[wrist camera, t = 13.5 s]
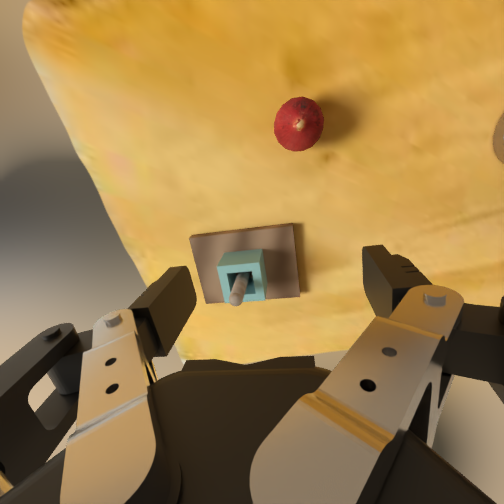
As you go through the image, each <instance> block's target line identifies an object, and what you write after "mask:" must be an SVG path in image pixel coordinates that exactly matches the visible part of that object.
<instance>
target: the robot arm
mask: <svg viewBox="0 0 504 504" xmlns="http://www.w3.org/2000/svg"><path fill="white" fill-rule="evenodd" d="M493 146H494V151H495V154H496V155H497V157H498V159H499V160H500V161H501V162H502V163H503V164H504V114H503V115H502V117H501V118H500V120H499V122H498V124H497V126H496V129H495V133H494V137H493ZM362 263H363V285H364V290H365V293H366V296H367V298H368V300H369V302H370V304H371V306H372V308H373V311H374V313H375V315H376V317H375V318H374V319H373V321H372V322H371V323H370V324H369V326H368V327H367V328H366V329H365V331H364V332H363V333H362V334H361V336H360V337H359V338H358V339H357V341H356V342H355V343H354V344H353V346H352V347H351V348H350V349H349V351H348V352H347V353H346V355H345V356H344V357H343V358H342V359H341V361H340V362H339V363H338V364H337V366H336V367H335V368H334V370H333V371H330V370H327V369H324V368H320V367H315V361H314V356H296V357H278V358H274V359H270V360H265V361H261V362H257V363H253V364H248V365H243V364H237V363H232V362H227V361H222V360H217V359H210V360H186V362H185V364H184V367H183V369H182V371H178V372H176V373H173V374H170V375H168V376H165V377H163V378H161V379H159V380H158V377H157V374H156V370H155V367H154V364H153V362H152V359H153V357H164V356H167V355H168V353H169V351H170V350H171V348H172V346H173V345H174V343H175V341H176V339H177V338H178V336H179V334H180V332H181V331H182V329H183V327H184V325H185V324H186V322H187V320H188V319H189V317H190V315H191V313H192V312H193V310H194V308H195V306H196V301H197V298H196V292H195V289H194V286H193V282H192V279H191V275H190V272H189V269H188V268H187V267H186V266H178V267H170V268H169V269H168V270H167V271H166V272H165V273H164V274H163V275H162V276H161V277H160V278H159V279H158V280H157V281H155V282H154V283H152V284H151V285H150V286H149V287H148V288H147V289H146V291H144V292H143V293H142V294H141V296H139V297H138V298H137V299H136V301H135V302H134V303H133V304H132V305H131V306H130V307H129V308H128V309H119V310H116V311H113V312H110V313H108V314H106V315H105V316H103V317H101V318H100V319H99V320H97V321H96V323H95V324H94V326H93V329H92V330H89V331H85V332H81V333H77V332H76V330H75V328H74V326H73V324H71V323H64V324H59V325H56V326H54V327H51V328H49V329H47V330H45V331H43V332H42V333H40V334H39V335H37V336H36V337H35V338H33V339H32V340H31V341H30V342H29V343H27V344H26V345H25V346H24V347H22V348H21V349H20V350H19V351H18V352H16V353H15V354H14V355H13V356H11V357H10V358H9V359H8V360H6V361H5V362H4V363H3V364H2V365H0V504H496V503H495V502H494V501H493V500H492V499H491V498H489V497H488V496H487V495H486V494H484V493H483V492H482V491H481V490H480V489H479V488H478V487H476V486H475V485H474V484H473V483H472V482H470V481H469V480H468V479H467V478H466V477H465V476H463V475H462V474H461V473H460V472H459V471H457V470H456V469H455V468H454V467H453V466H451V465H450V464H449V463H448V462H447V461H446V460H444V459H443V458H442V457H441V456H439V454H437V453H436V452H435V451H434V450H433V449H431V448H432V444H433V440H434V436H435V431H436V426H437V423H438V420H439V417H440V414H441V411H442V409H443V406H444V403H445V400H446V398H447V395H448V392H449V389H450V387H451V384H452V381H453V378H454V375H458V376H463V377H468V378H472V379H477V380H483V381H487V382H489V384H490V385H491V387H492V388H493V390H494V391H495V392H496V394H497V395H498V397H499V398H500V399H501V401H502V402H503V404H504V296H503V297H502V299H501V303H500V307H493V306H482V305H473V304H467V303H464V299H463V297H462V296H461V295H460V294H459V293H457V292H456V291H454V290H452V289H449V288H446V287H442V286H437V285H433V284H432V283H431V282H430V281H429V280H428V279H427V278H426V277H425V276H424V275H423V274H422V273H421V272H419V270H418V269H417V268H416V267H414V265H413V263H412V262H411V261H410V260H409V259H407V258H405V257H402V256H400V255H398V254H396V255H391V254H390V253H389V252H388V251H387V249H386V248H385V247H384V246H383V245H374V246H364V247H363V249H362ZM46 373H47V374H48V375H49V377H50V379H51V380H52V382H53V384H54V385H55V387H56V389H55V390H54V391H53V392H52V393H51V395H50V396H49V397H48V398H47V399H46V400H45V402H44V403H43V404H42V405H41V406H40V407H39V408H38V409H37V411H36V412H35V413H34V411H33V410H32V408H31V407H30V405H29V404H28V395H29V392H30V390H31V389H32V388H33V386H34V385H35V384H36V383H37V382H38V381H39V380H40V379H41V378H42V377H43V376H44V375H45V374H46ZM76 419H77V423H76V430H75V432H74V433H73V434H72V435H70V436H69V438H68V441H67V445H66V448H65V449H64V450H62V451H61V452H60V453H58V454H57V455H56V456H54V457H53V458H52V459H50V460H49V461H48V462H46V461H47V460H48V458H49V457H50V455H51V454H52V453H53V451H54V450H55V448H56V447H57V446H58V444H59V443H60V442H61V440H62V439H63V437H64V436H65V434H66V433H67V432H68V430H69V429H70V427H71V426H72V425H73V423H74V422H75V420H76Z"/></svg>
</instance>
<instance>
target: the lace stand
mask: <svg viewBox="0 0 504 504" xmlns="http://www.w3.org/2000/svg"><path fill="white" fill-rule="evenodd" d="M189 240H190V244H191V248H192V252H193V256H194V259H195V263H196V267H197V271H198V275H199V279H200V282H201V286H202V290H203V294H204V298H205V302H206V304H210V303H223V302H225V301H224V297H223V292H222V288H221V284H220V279H219V275H218V270H217V265H218V263H219V261H220V260H221V258H222V256H223V254H224V253H226V252H236V251H246V250H255V249H262V251H263V257H264V264H265V270H266V277H267V291H266V299H277V298H291V297H300V289H299V280H298V270H297V261H296V252H295V243H294V233H293V224H292V223H289V224H280V225H272V226H264V227H255V228H247V229H239V230H231V231H222V232H214V233H206V234H197V235H192V236H191V237H190V238H189ZM236 276H237V277H236V280H235V282H234V285H233V288H232V291H231V293H230V296H229V302H230V304H231V305H233V306H239V305H240V304H241V303H242V302H243V298H244V294H245V291H246V287H247V283H248V280H249V278H253V275H252V271H248V272H237V273H236Z"/></svg>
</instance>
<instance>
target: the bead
mask: <svg viewBox="0 0 504 504" xmlns="http://www.w3.org/2000/svg"><path fill="white" fill-rule="evenodd" d="M217 270H218V275H219V279H220V284H221V288H222V292H223V297H224V301H225V303H230V302H229V296H230V293H231V291H232V288H233V285H234V282H235V280H236V277H237V276H236V273H237V272H248V271H252V275H253V278H249V280H248V283H247V287H246V291H245V294H244V298H243V302H248V301H262V300H265V299H266V291H267V277H266V270H265V264H264V257H263V251H262V249H255V250H246V251H236V252H226V253H224V254H223V256H222V258H221V260H220V261H219V263H218V265H217Z"/></svg>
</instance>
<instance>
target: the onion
mask: <svg viewBox="0 0 504 504" xmlns="http://www.w3.org/2000/svg"><path fill="white" fill-rule="evenodd" d="M323 123H324V117H323V114H322V111H321V108H320V107H319V106H318V105H317V104H316V103H315V102H314V101H313V100H311V99H308V98H305V97H297V98H292V99H290V100H289V101H287V102H286V103H285V104H283V105H282V107H281V108H280V110H279V111H278V112H277V115H276V118H275V122H274V133H275V136H276V138H277V140H278V142H279V143H280V144H281V145H282V146H283V147H284V148H286V149H288V150H291V151H304V150H306V149H308V148H310V147H312V146H313V145H314V144H315V143H316V142H317V140H318V139H319V138H320V135H321V133H322V130H323Z"/></svg>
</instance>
